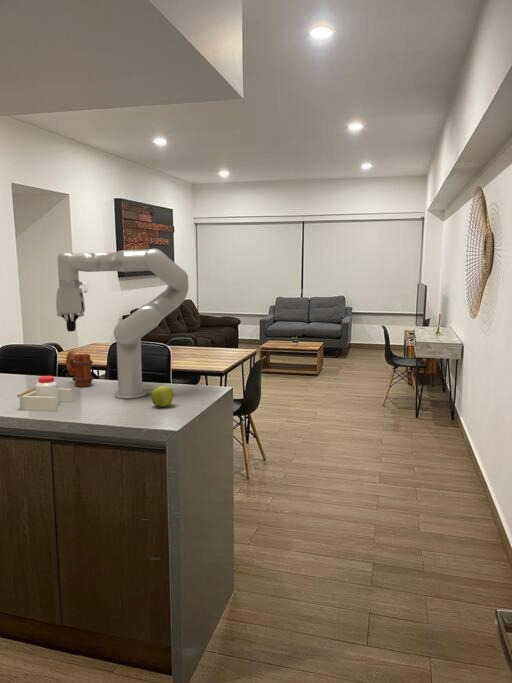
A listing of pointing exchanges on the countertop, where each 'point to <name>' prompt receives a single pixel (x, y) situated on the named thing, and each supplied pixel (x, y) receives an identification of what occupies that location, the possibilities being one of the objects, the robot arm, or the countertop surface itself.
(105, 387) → the countertop surface
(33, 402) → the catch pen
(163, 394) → the apple
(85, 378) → the mug
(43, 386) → the pill bottle
